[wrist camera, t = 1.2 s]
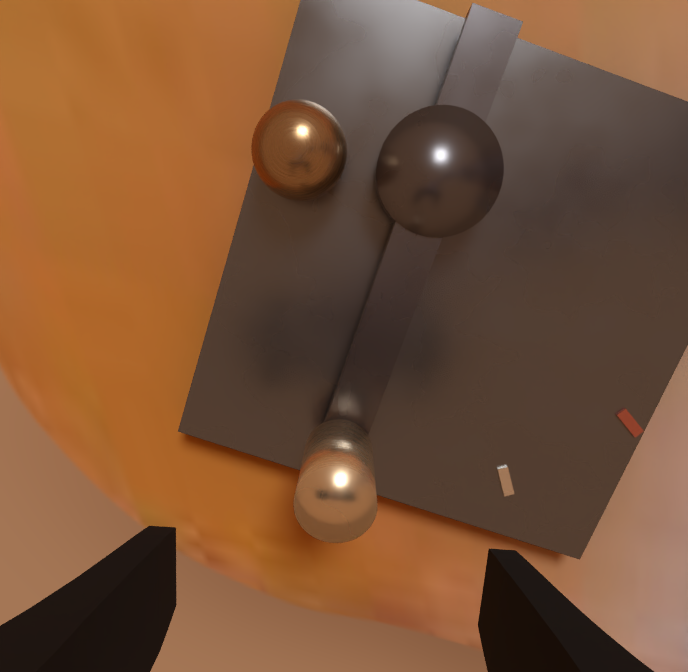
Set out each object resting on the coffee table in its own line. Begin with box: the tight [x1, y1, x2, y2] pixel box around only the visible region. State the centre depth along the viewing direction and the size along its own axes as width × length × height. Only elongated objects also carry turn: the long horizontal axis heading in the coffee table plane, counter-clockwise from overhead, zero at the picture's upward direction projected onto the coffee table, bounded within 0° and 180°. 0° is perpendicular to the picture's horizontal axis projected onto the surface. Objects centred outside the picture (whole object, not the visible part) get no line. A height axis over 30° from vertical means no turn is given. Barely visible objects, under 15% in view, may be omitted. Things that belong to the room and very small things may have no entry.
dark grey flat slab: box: [178, 0, 688, 559], centre depth 17 cm, size 17×17×4 cm
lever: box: [294, 3, 523, 543], centre depth 15 cm, size 16×4×4 cm, turn 161°
